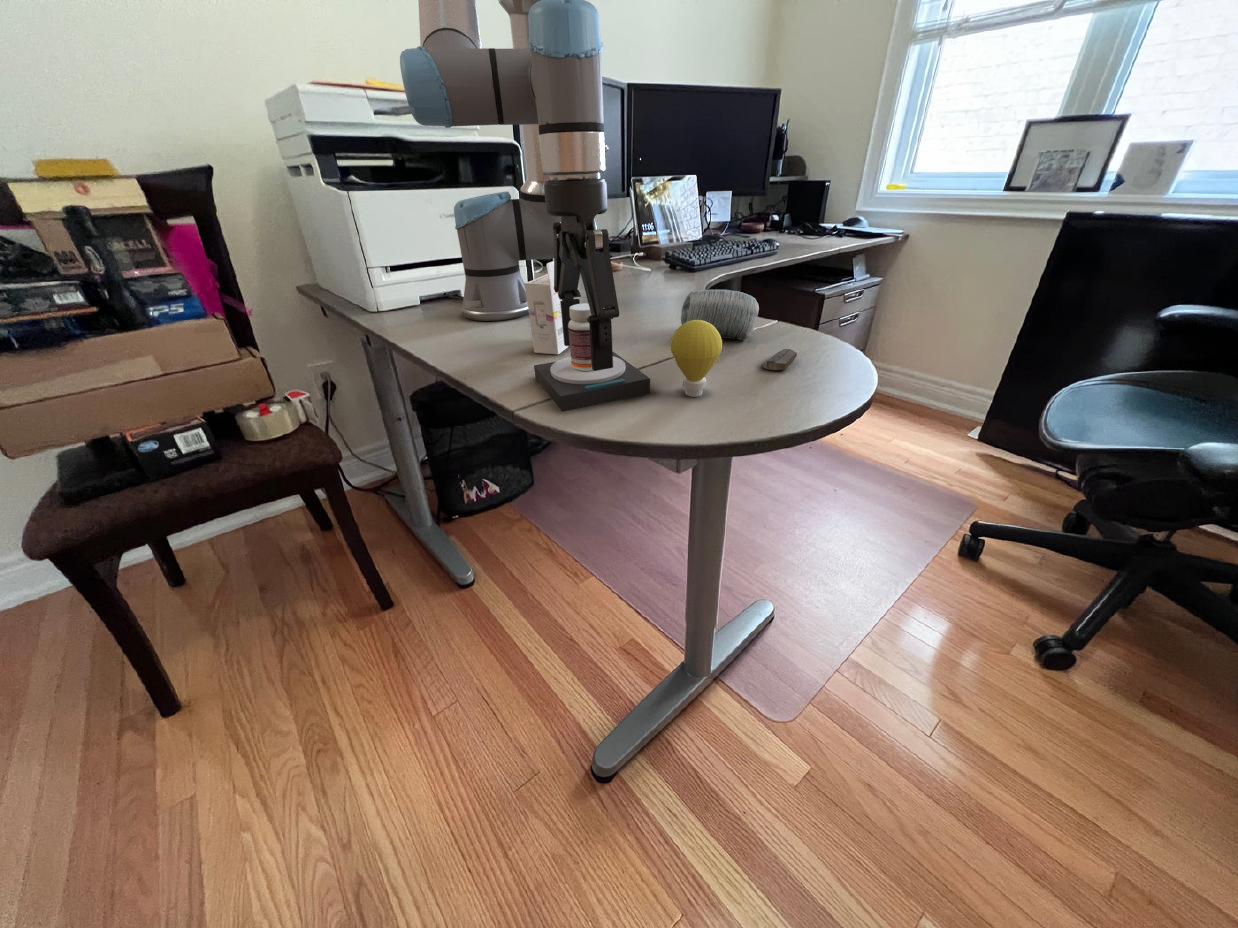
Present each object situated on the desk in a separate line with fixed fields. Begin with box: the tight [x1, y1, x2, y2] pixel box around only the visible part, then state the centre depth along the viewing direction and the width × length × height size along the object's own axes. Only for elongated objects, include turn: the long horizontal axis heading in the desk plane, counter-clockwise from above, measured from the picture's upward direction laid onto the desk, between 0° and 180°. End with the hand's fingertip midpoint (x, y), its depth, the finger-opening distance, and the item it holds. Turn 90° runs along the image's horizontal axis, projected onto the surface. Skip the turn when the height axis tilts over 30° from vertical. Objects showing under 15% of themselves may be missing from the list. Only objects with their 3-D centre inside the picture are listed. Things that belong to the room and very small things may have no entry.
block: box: [762, 348, 798, 371], centre depth 76 cm, size 4×6×2 cm, turn 144°
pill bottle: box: [568, 302, 593, 371], centre depth 68 cm, size 5×5×8 cm
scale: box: [533, 351, 651, 412], centre depth 71 cm, size 13×13×3 cm
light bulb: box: [670, 320, 723, 398], centre depth 65 cm, size 7×7×10 cm
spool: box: [680, 289, 760, 341], centre depth 88 cm, size 14×10×10 cm
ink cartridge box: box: [524, 260, 570, 356], centre depth 84 cm, size 9×5×15 cm, turn 160°
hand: (587, 355), depth 70 cm, fingers open, 11 cm apart
